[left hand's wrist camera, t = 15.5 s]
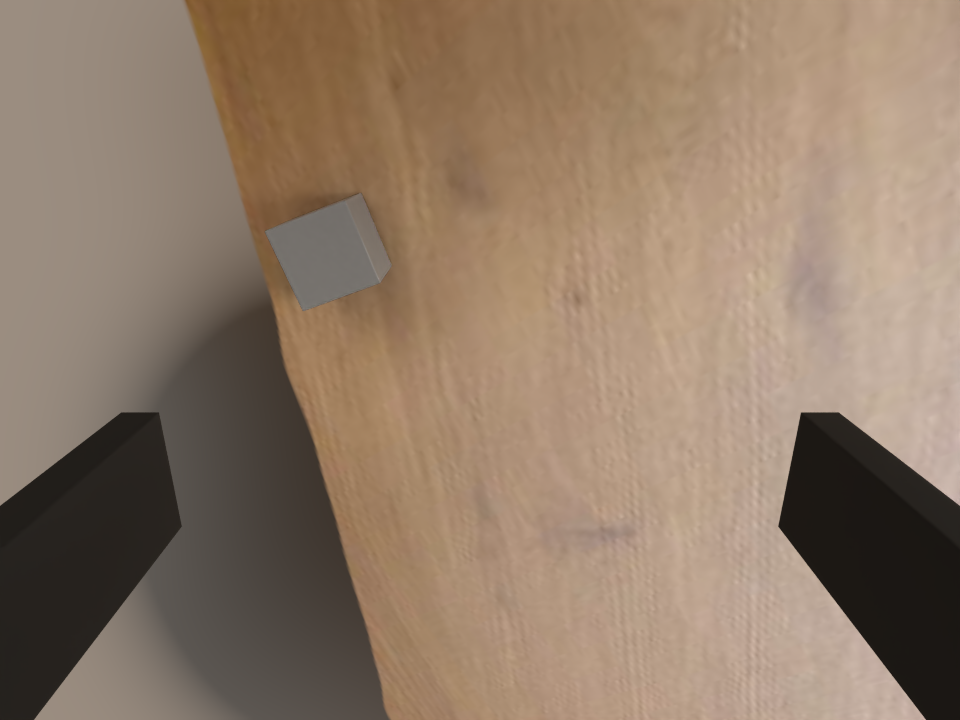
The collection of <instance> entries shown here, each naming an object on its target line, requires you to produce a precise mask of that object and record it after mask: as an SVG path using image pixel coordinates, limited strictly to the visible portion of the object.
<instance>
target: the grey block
mask: <svg viewBox="0 0 960 720" xmlns="http://www.w3.org/2000/svg"><path fill="white" fill-rule="evenodd" d="M265 233H266V235H267V237H268V240H269V242H270V244H271V246H272V248H273V250H274V252H275V254H276V256H277V258H278V260H279V262H280V265H281V267H282V269H283V271H284V273H285V275H286V277H287V279H288V281H289V283H290V285H291V287H292V289H293V292H294V294H295V296H296V298H297V300H298V302H299V304H300V306H301V308H302V310H303V311H305V310H308V309H311V308H314V307H316V306H319V305H322V304H324V303H327V302H330V301H333V300H335V299H338V298H341V297H344V296H346V295H349V294H352V293H355V292H357V291H360V290H363V289H366V288H368V287H371V286H374V285H377V284H379V283H380V282H381V281H382V280H383V278H384V277H385V275H386V274H387V272H388V271H389V269H390V268H391V266H392V265H391V263H390V260H389V258H388V255H387V253H386V251H385V248H384V246H383V243H382V241H381V239H380V236H379V234H378V231H377V229H376V227H375V224H374V222H373V219H372V217H371V215H370V212H369V210H368V207H367V205H366V203H365V200H364V198H363V195H362V193H359V194H356V195H353V196H351V197H348V198H346V199H343V200H340V201H338V202H335V203H333V204H330V205H327V206H325V207H322V208H320V209H317V210H314V211H312V212H309V213H307V214H304V215H302V216H299V217H296V218H294V219H291V220H289V221H287V222H284V223H282V224H280V225H277V226H275V227H273V228H271V229H268V230H266V231H265Z"/></svg>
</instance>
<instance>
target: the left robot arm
mask: <svg viewBox="0 0 960 720" xmlns="http://www.w3.org/2000/svg"><path fill="white" fill-rule="evenodd" d="M778 527H779V528H780V529H781V531H782V532H783V533H784V535H785V536H786V537H787V538H788V540H789V541H790V542H791V544H792V545H793V546H794V548H795V549H796V550H797V552H798V553H799V554H800V555H801V557H802V558H803V559H804V561H805V562H806V563H807V565H808V566H809V567H810V569H811V570H812V571H813V572H814V574H815V575H816V576H817V578H818V579H819V580H820V582H821V583H822V584H823V586H824V587H825V588H826V589H827V591H828V592H829V593H830V595H831V596H832V597H833V599H834V600H835V601H836V603H837V604H838V605H839V606H840V608H841V609H842V610H843V612H844V613H845V614H846V616H847V617H848V618H849V620H850V621H851V622H852V623H853V625H854V626H855V627H856V629H857V630H858V631H859V633H860V634H861V635H862V637H863V638H864V639H865V640H866V642H867V643H868V644H869V646H870V647H871V648H872V650H873V651H874V652H875V654H876V655H877V656H878V657H879V659H880V660H881V661H882V663H883V664H884V665H885V667H886V668H887V669H888V671H889V672H890V673H891V674H892V676H893V677H894V678H895V680H896V681H897V682H898V684H899V685H900V686H901V688H902V689H903V690H904V691H905V693H906V694H907V695H908V697H909V698H910V699H911V701H912V702H913V703H914V705H915V706H916V707H917V708H918V710H919V711H920V712H921V714H922V715H923V716H924V718H925V719H926V720H960V506H959V505H958V504H957V503H955V502H954V501H953V500H951V499H950V498H949V497H948V496H946V495H945V494H944V493H942V492H941V491H940V490H939V489H937V488H936V487H935V486H933V485H932V484H931V483H929V482H928V481H927V480H926V479H924V478H923V477H922V476H920V475H919V474H918V473H916V472H915V471H914V470H913V469H911V468H910V467H909V466H907V465H906V464H905V463H903V462H902V461H901V460H900V459H898V458H897V457H896V456H894V455H893V454H892V453H890V452H889V451H888V450H887V449H885V448H884V447H883V446H881V445H880V444H879V443H878V442H876V441H875V440H874V439H872V438H871V437H870V436H868V435H867V434H866V433H865V432H863V431H862V430H861V429H859V428H858V427H857V426H855V425H854V424H853V423H852V422H850V421H849V420H848V419H846V418H845V417H844V416H842V415H841V414H840V413H801V416H800V421H799V426H798V431H797V436H796V441H795V446H794V451H793V456H792V461H791V466H790V471H789V476H788V481H787V486H786V491H785V496H784V501H783V506H782V511H781V516H780V521H779V526H778ZM180 528H181V521H180V516H179V511H178V506H177V501H176V496H175V491H174V486H173V481H172V476H171V471H170V466H169V461H168V456H167V451H166V446H165V441H164V436H163V431H162V426H161V421H160V416H159V413H120V414H119V415H118V416H116V417H115V418H114V419H112V420H111V421H110V422H108V423H107V424H106V425H105V426H103V427H102V428H101V429H99V430H98V431H97V432H96V433H94V434H93V435H92V436H90V437H89V438H88V439H86V440H85V441H84V442H83V443H81V444H80V445H79V446H77V447H76V448H75V449H73V450H72V451H71V452H70V453H68V454H67V455H66V456H64V457H63V458H62V459H60V460H59V461H58V462H57V463H55V464H54V465H53V466H51V467H50V468H49V469H48V470H46V471H45V472H44V473H42V474H41V475H40V476H38V477H37V478H36V479H34V480H33V481H32V482H31V483H29V484H28V485H27V486H25V487H24V488H23V489H22V490H20V491H19V492H18V493H16V494H15V495H14V496H12V497H11V498H10V499H9V500H7V501H6V502H5V503H3V504H2V505H1V506H0V720H34V719H35V718H36V716H37V715H38V714H39V712H40V711H41V710H42V708H43V707H44V706H45V705H46V703H47V702H48V701H49V699H50V698H51V697H52V695H53V694H54V693H55V691H56V690H57V689H58V688H59V686H60V685H61V684H62V682H63V681H64V680H65V678H66V677H67V676H68V674H69V673H70V672H71V670H72V669H73V668H74V667H75V665H76V664H77V663H78V661H79V660H80V659H81V657H82V656H83V655H84V653H85V652H86V651H87V650H88V648H89V647H90V646H91V644H92V643H93V642H94V640H95V639H96V638H97V637H98V635H99V634H100V633H101V631H102V630H103V629H104V627H105V626H106V625H107V623H108V622H109V621H110V620H111V618H112V617H113V616H114V614H115V613H116V612H117V610H118V609H119V608H120V606H121V605H122V604H123V602H124V601H125V600H126V599H127V597H128V596H129V595H130V593H131V592H132V591H133V589H134V588H135V587H136V586H137V584H138V583H139V582H140V580H141V579H142V578H143V576H144V575H145V574H146V572H147V571H148V570H149V569H150V567H151V566H152V565H153V563H154V562H155V561H156V559H157V558H158V557H159V555H160V554H161V553H162V552H163V550H164V549H165V548H166V546H167V545H168V544H169V542H170V541H171V540H172V538H173V537H174V536H175V535H176V533H177V532H178V530H179V529H180Z"/></svg>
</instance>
